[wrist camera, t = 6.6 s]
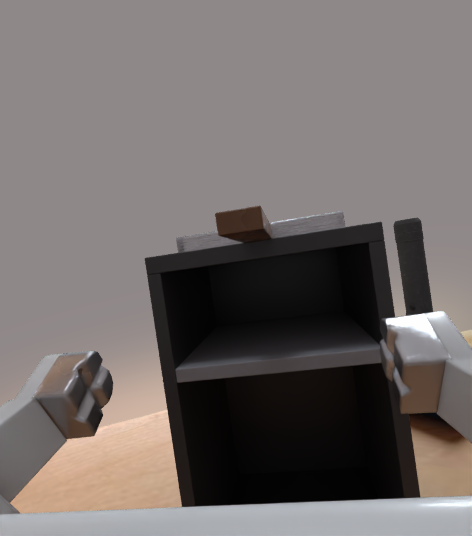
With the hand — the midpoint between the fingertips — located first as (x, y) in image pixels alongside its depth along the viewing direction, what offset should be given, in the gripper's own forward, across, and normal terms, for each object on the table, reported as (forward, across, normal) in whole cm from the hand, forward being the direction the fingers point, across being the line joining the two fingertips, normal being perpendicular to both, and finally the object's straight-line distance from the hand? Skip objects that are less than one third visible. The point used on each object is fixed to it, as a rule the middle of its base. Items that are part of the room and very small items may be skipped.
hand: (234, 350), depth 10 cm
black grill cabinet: (+7, 0, +30) cm, 31 cm away
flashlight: (+40, -25, +49) cm, 68 cm away
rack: (+16, 0, +5) cm, 17 cm away
